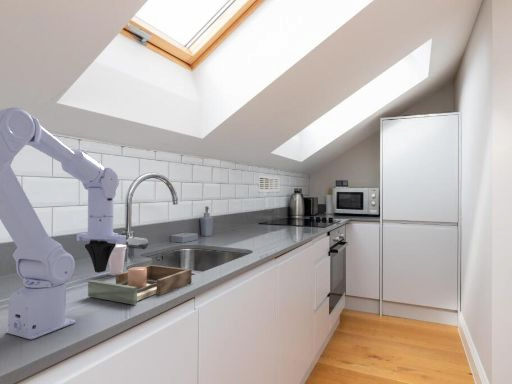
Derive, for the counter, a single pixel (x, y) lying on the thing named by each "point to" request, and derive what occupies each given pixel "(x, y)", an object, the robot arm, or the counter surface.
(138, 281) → the peach rounded cylinder
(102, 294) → the tray
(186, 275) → the dock
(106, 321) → the counter surface
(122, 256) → the smoothie
